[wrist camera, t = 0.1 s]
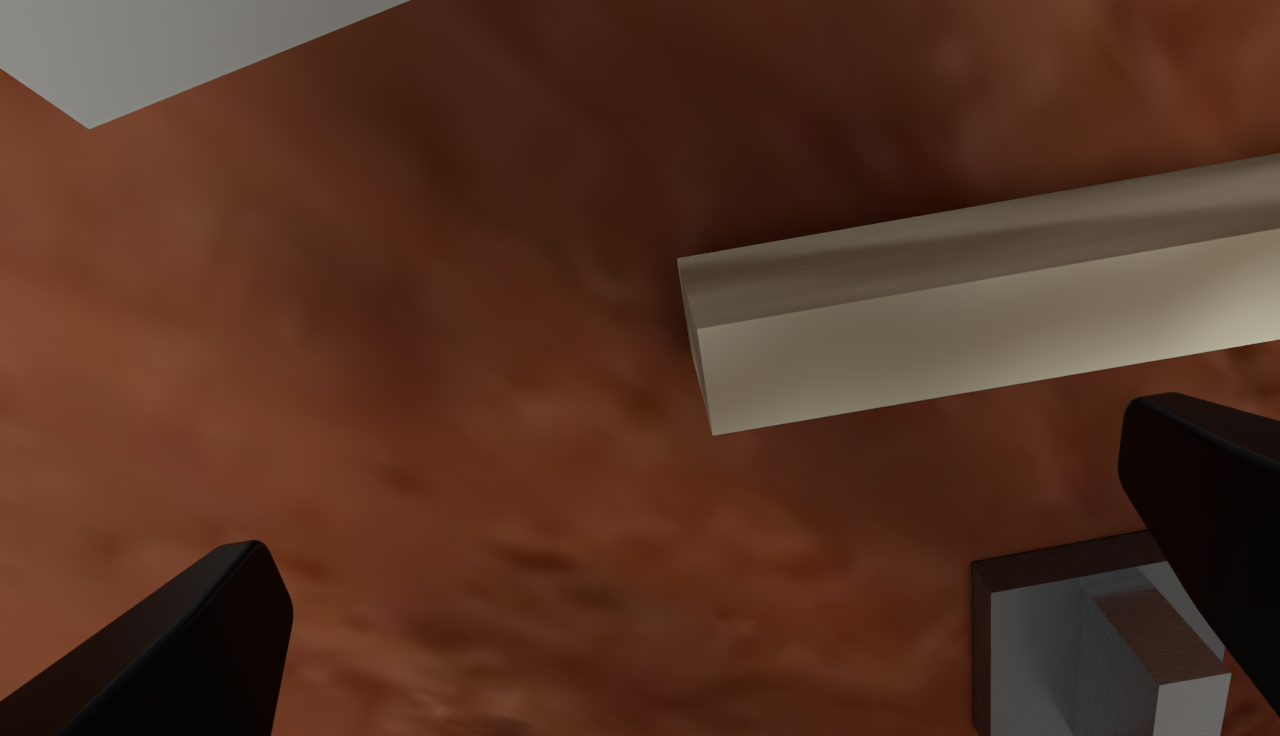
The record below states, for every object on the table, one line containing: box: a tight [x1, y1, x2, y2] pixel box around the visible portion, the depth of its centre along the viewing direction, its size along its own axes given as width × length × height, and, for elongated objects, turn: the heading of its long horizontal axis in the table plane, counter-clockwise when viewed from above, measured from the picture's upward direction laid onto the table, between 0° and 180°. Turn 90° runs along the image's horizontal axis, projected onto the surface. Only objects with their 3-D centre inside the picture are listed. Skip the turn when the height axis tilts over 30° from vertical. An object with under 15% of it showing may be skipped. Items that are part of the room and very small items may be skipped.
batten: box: [677, 153, 1280, 436], centre depth 21 cm, size 3×18×5 cm, turn 99°
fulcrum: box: [972, 530, 1231, 736], centre depth 27 cm, size 8×8×6 cm
